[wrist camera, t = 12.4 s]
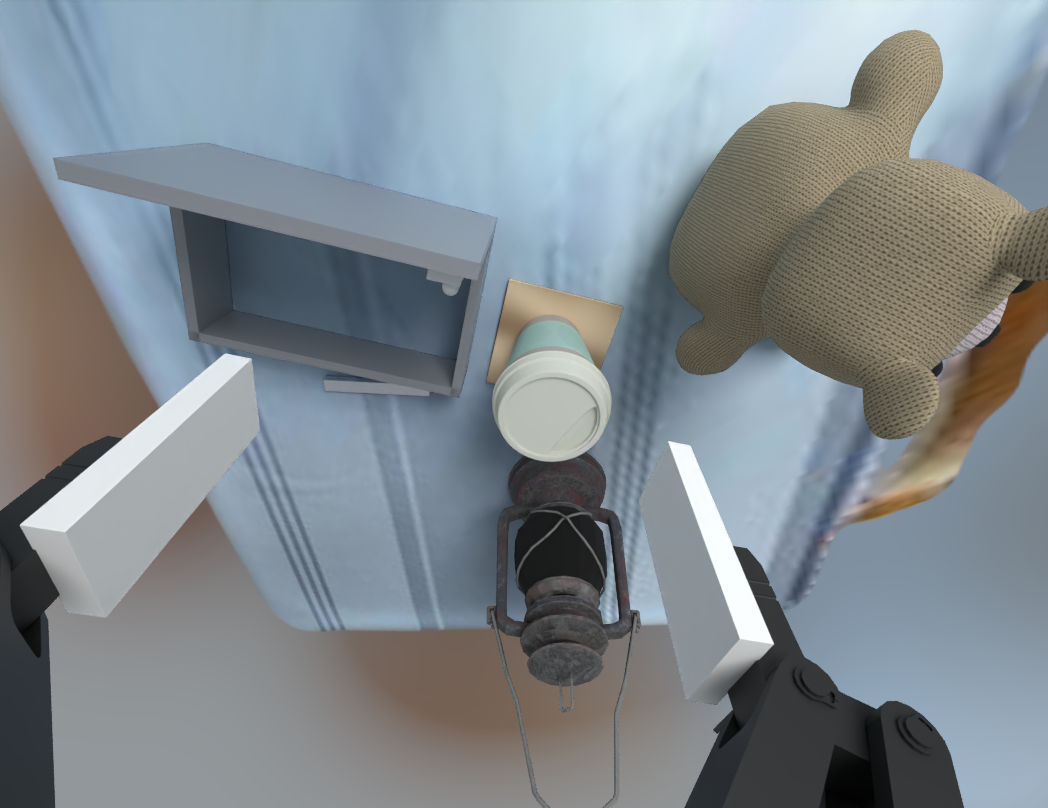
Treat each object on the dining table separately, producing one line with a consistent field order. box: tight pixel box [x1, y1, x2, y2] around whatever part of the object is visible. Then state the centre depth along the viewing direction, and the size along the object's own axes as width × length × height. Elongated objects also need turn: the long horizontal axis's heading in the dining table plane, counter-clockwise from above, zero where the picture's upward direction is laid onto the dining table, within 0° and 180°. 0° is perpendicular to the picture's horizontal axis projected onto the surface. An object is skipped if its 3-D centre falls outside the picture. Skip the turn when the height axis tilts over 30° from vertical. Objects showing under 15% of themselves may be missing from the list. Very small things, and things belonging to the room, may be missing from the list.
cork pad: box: [486, 279, 623, 384], centre depth 43 cm, size 10×10×1 cm
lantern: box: [487, 452, 641, 808], centre depth 39 cm, size 12×11×30 cm
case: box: [53, 143, 497, 398], centre depth 34 cm, size 15×22×13 cm, turn 76°
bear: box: [669, 30, 1048, 439], centre depth 26 cm, size 21×16×25 cm
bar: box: [323, 376, 431, 396], centre depth 45 cm, size 10×1×1 cm, turn 88°
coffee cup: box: [492, 315, 612, 462], centre depth 37 cm, size 8×8×12 cm
